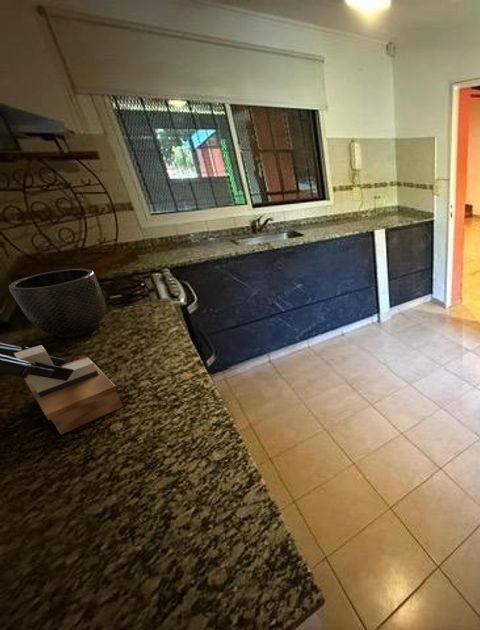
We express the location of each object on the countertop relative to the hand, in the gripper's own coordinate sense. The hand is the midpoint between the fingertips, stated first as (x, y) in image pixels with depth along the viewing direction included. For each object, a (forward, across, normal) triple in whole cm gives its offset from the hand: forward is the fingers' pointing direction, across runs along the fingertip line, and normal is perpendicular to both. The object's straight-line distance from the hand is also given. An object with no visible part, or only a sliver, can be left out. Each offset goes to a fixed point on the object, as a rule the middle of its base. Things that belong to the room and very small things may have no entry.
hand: (65, 369), depth 81 cm
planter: (+14, -49, 0) cm, 51 cm away
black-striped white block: (+2, 0, -3) cm, 3 cm away
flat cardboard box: (+6, 0, -7) cm, 9 cm away
